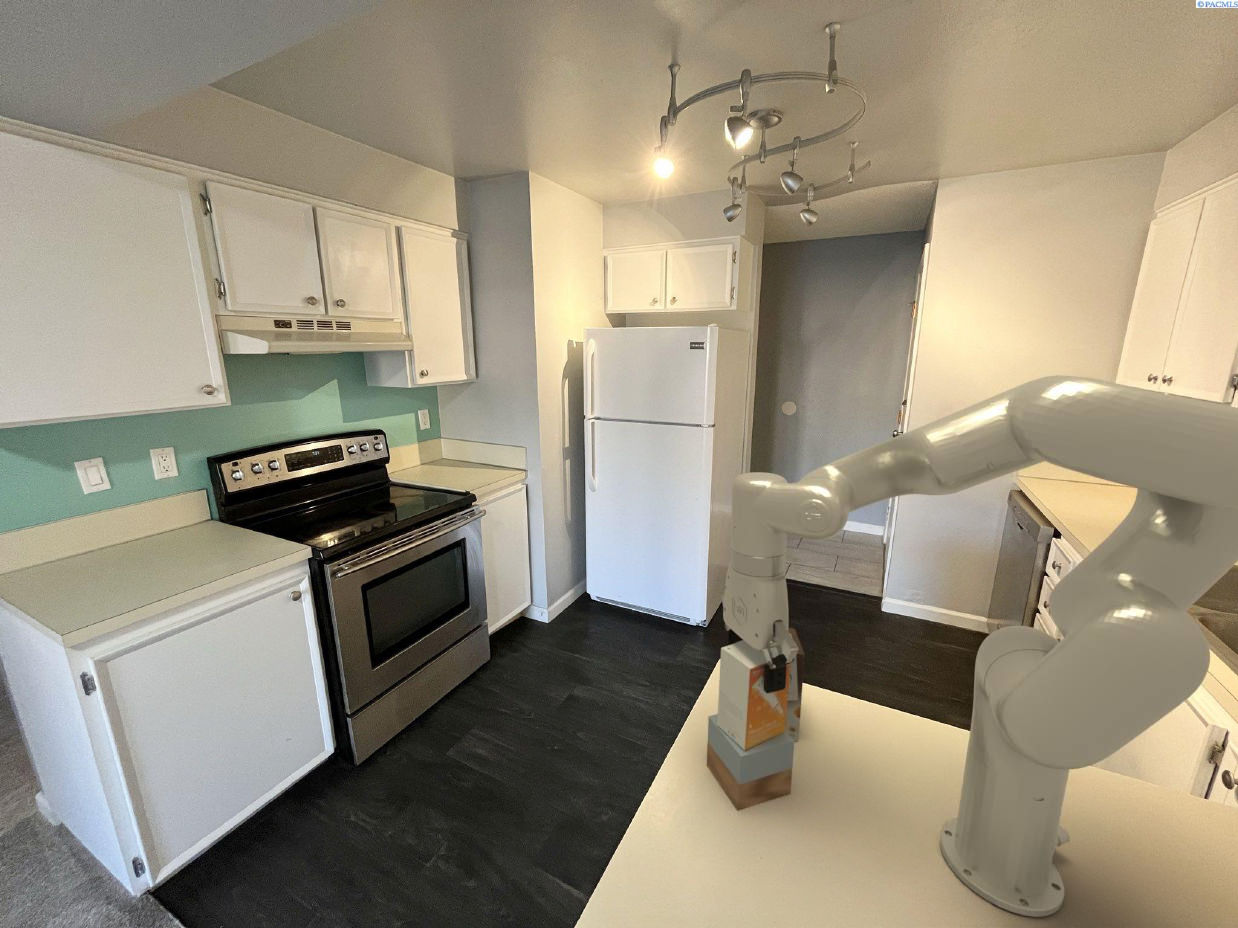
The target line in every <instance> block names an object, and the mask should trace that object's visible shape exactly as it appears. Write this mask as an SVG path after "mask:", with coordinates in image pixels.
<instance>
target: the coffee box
mask: <svg viewBox="0 0 1238 928" xmlns="http://www.w3.org/2000/svg"><path fill="white" fill-rule="evenodd" d="M788 632H789V634H790V635H791V637H792V638H793V640H794V642H795V643H796V645H797V646H798V652H797V654H796V656H795V658H794V661H793V662H791V663H790V675H789V687H788V700H787V712H786V724H785V732H786V733H787V734H788V735H789V736H790V737H791V738H792V739H793V740H794V742H798V741H799V737H800V736H799V735H800V727H801V726H800V724H801V710H802V699H803V698H802V697H803V696H802V695H803V684H804V668H805V656H806V655H805V652H804V649H803V646H802V644H801V641H800V638H799V636H798V632H797V630H796V628H794V627H788ZM771 641H772V642H775V641H774V640H773V639H771Z"/></svg>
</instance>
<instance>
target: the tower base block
mask: <svg viewBox="0 0 1238 928" xmlns="http://www.w3.org/2000/svg"><path fill="white" fill-rule="evenodd" d="M706 745H707V747H706V748H707V749H706V767H707V768H708V769H709V771H710V772H711V774H712V776H713V777H714V779H715V780H716V781H717V784H718V785H719V786H720V787H721V789H722V791H723V792H724V793H725V795H726V797H727V798H728V799H729V801H730V803H731V804H732V805H733V807H734V809H735V810H736V811H737V812H738V811H743V810H745V809H748V808H751V807H754V806H757V805H761V804H764V803H766V802H770V801H773V800H775V799H779V798H782V797H785V796H788V795H791V790H792V789H791V788H792V777H793V767H792V768H791V769H788V770H784V771H781V772H778V773H775V774H772V775H769V776H766V777H762V778H759V779H756V780H753V781H750V782H747V783H743V784H740V785H739V783H738V782H737V781H736V779H735V778H734V776H733V775H732V774H731V772H730V771H729V770H728V768H727V767H726V766H725V764H724V763H723V762H722V760H721V759H720V758H719V756H718V755H717V754H716V752H715V751H714V750H713V748H712V747H711V746H710V744H709V743H708V742H707V744H706Z"/></svg>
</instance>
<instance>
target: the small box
mask: <svg viewBox="0 0 1238 928" xmlns="http://www.w3.org/2000/svg"><path fill="white" fill-rule="evenodd" d="M770 643H772V641H770ZM771 651H772V654H773V657H774V658H775V657H776V656H778V655H779V653H778V650H777V647H775V648H771ZM719 662H720V664H719V680H718V681H719V686H718V702H717V714H718V719H717V725H718V726H719V727H720V728H721V729H722V730H723V731H724V732H725V733H726V734H727V735H728V736H729V737H730V738H731V739H733V740H734V741H735V742H736V743H737V744H738V745H739V746H740V747H741V748H742V749H743V750H748V749H749V748H751V747H753V746H755V745H758V744H760V743H762V742H764V741H766V740H768V739H771V738H773V737H775V736H778V735H780V734H783V733H784V732H785V724H786V712H787V700H788V687H789V675H790V664H789V665H787V666H786V687H785V689H783V690H780V691H776V692H772V693H766V692H765V691H764V667H765V665H768V664H767V661H766V658H765V655H764V652H763V649H762V650H760V651H759V650H756V649H754V648H753V647H751V646H750V645H749V644H748V643H747V642H745V641H744V640H742V641H739V642H737V643H734V644H731V645H728V646H727V645H726V646H723V647H721V648H720V660H719Z"/></svg>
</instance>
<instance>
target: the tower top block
mask: <svg viewBox="0 0 1238 928" xmlns="http://www.w3.org/2000/svg"><path fill="white" fill-rule="evenodd" d="M717 719H718V713H717V714H712V715H708V718H707V720H708V723H707V726H708V727H707V743H709V744H710V746H711V747H712V748H713V750H714V751H715V752H716V754H717V755H718V756H719V758H720V759H721V760H722V762H723V763H724V764H725V766H726V767H727V768H728V770H729V771H730V772H731V774H732V775H733V776H734V778H735V779H736V781H737V782H738V783H739V785H740V784H743V783H747V782H750V781H753V780H756V779H759V778H762V777H766V776H769V775H772V774H775V773H778V772H781V771H784V770H788V769H791V768H792V769H793V766H794V754H795V753H794V751H795V741H794V740H793V739H792V738H791V737H790V736H789V735H788V734H787V733H786V732H784V733H783V734H780V735H778V736H775V737H773V738H771V739H768V740H766V741H764V742H762V743H760V744H758V745H755V746H753V747H751V748H749V749H748V750H743V749H742V748H741V747H740V746H739V745H738V744H737V743H736V742H735V741H734V740H733V739H731V738H730V737H729V736H728V735H727V734H726V733H725V732H724V731H723V730H722V729H721V728H720V727H719V726H718V725H717Z"/></svg>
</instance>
